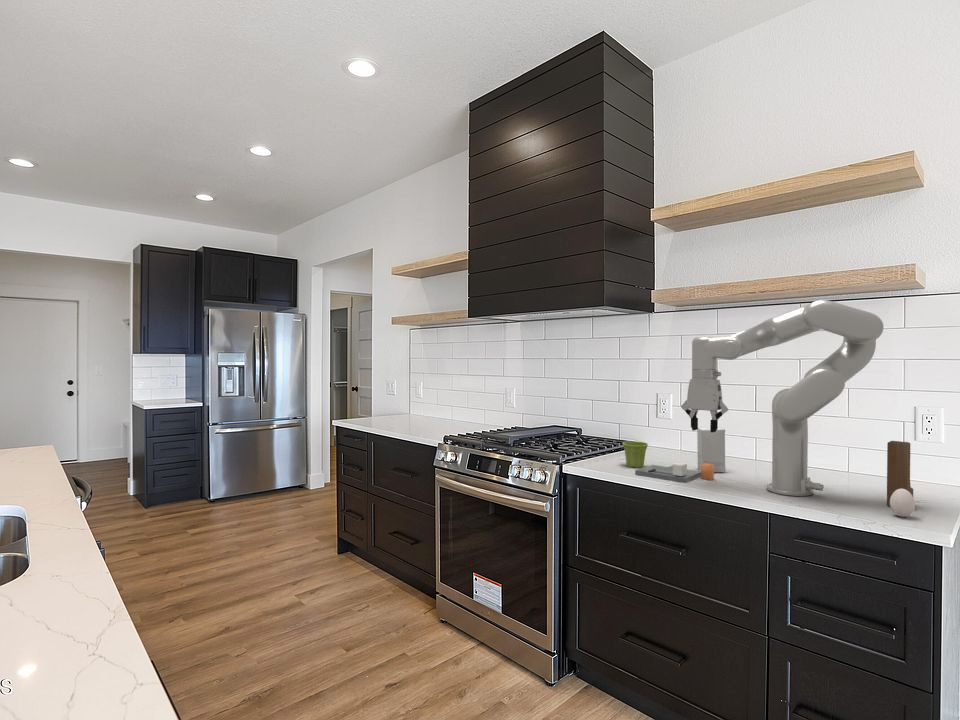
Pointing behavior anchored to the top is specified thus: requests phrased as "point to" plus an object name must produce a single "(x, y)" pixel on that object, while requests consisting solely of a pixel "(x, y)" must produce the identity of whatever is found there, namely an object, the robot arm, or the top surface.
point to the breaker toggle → (679, 469)
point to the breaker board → (667, 474)
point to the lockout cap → (707, 471)
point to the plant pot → (635, 453)
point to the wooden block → (898, 468)
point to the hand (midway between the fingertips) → (704, 430)
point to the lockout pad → (662, 466)
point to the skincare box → (711, 448)
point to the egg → (902, 503)
